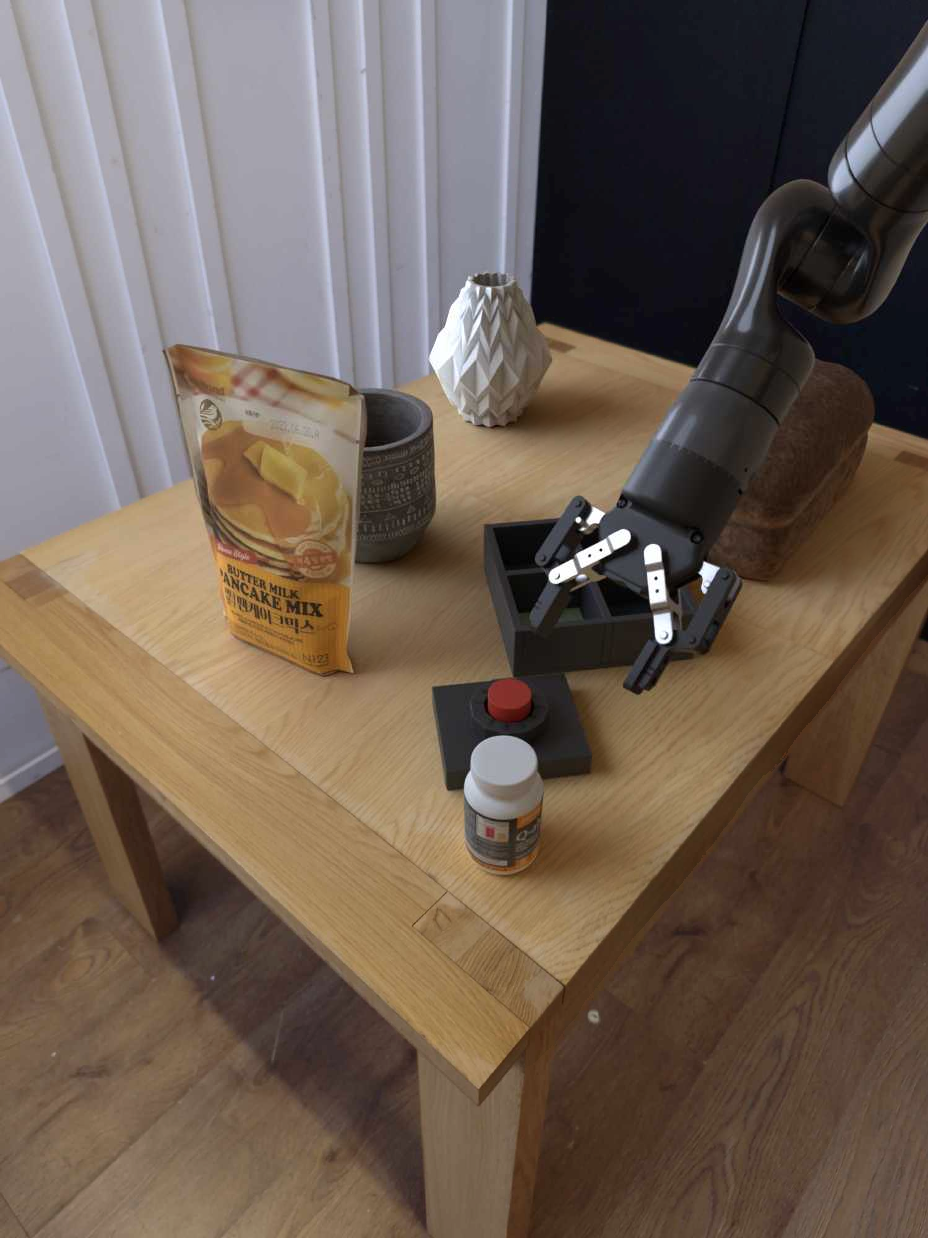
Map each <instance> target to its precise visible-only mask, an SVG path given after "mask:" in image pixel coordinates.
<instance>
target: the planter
mask: <svg viewBox="0 0 928 1238" xmlns="http://www.w3.org/2000/svg"><path fill="white" fill-rule="evenodd" d="M354 389H355V390H356V391H357V392H359V393H360V394H362V395H363V396H364V398H365V404H366V411H367V434H366V439H365V445H364V451H363V462H362V476H361V496H360V518H359V523H358V527H357V544H356V554H355V563H361V564H380V563H385V562H389V561H394V560H396V559H398V558H401V557H403V556H405V555H406V554H408V553H409V552H410V551H411V550H413V548H414V547H415V545H416V544H417V543H418V542H419V540H420V539H421V537H422V536H423V535H424V534H425V532H426V530H427V529H428V527H429V525H430V524H431V522H432V521H433V518H434V516H435V514H436V509H437V488H436V487H437V485H436V475H435V474H436V458H435V457H436V455H435V438H434V437H435V435H434V415H433V411H432V409H431V407H430V406H429V405H428V404H427V403H426V402H424V401H423V400H422V399H421V398H419V397H417V396H414V395H412V394H409V393H406V392H403V391H399V390H394V389H387V388H375V387H367V388H365V387H364V388H354Z"/></svg>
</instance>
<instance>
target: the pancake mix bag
mask: <svg viewBox="0 0 928 1238" xmlns="http://www.w3.org/2000/svg"><path fill="white" fill-rule="evenodd" d="M161 352H162V354H163V356H164V358H165V361H166V365H167V368H168V371H169V375H170V379H171V383H172V387H173V392H174V397H175V403H176V406H177V410H178V413H179V417H180V421H181V426H182V430H183V431H182V432H183V436H184V442H185V448H186V452H187V456H188V459H189V463H190V467H191V475H192V481H193V485H194V490H195V496H196V499H197V502H198V504H199V505H198V506H199V508H200V511H201V514H202V519H203V522H204V525H205V529H206V532H207V536H208V539H209V544H210V548H211V552H212V555H213V558H214V561H215V562H214V563H215V567H216V571H217V578H218V587H219V588H218V589H219V592H220V598H221V603H222V616H223V617H224V618H226V619H227V625H228V629H229V632H230V633H231V634H232V635H233V636H234V637H235V638H237V639H239V640H240V641H242V642H244V643H247V644H248V645H251V646H253V647H254V648H257V649H259V650H261V651H263V652H265V653H268V654H270V655H273V656H275V657H277V658H279V659H282V660H284V661H286V662H288V663H290V664H292V665H294V666H296V667H298V668H299V669H303V670H305V671H307V672H309V673H312V674H315V675H318V676H321V677H326V676H327V675H330V674H333V673H336V672H338V671H339V672H345V673H350V674H354V673H355V672H354V670H353V665H352V662H351V658H350V654H349V652H348V650H347V647H348V641H349V640H348V639H349V633H350V626H351V625H350V623H351V618H352V603H353V601H352V600H353V584H354V576H355V575H354V574H355V563H356V562H355V554H356V544H357V527H358V523H359V518H360V496H361V476H362V462H363V451H364V445H365V439H366V434H367V411H366V404H365V398H364V396H363V395H362V394H360V393H359V392H357V391H356V390H355V389H356V388H354V387H353V386H352V385H351V384H350V383H349V382H347V381H345V380H342V379H340V378H337V377H334V376H330V375H325V374H321V373H317V372H313V371H307V370H304V369H298V368H292V367H287V366H284V365H280V364H278V363H274V362H270V361H266V360H263V359H260V358H256V357H252V356H247V355H240V354H238V353H237V354H236V353H232V352H227V351H220V350H216V349H212V348H207V347H201V346H194V345H188V344H183V343H182V344H181V343H176V344H173V345H171V346H169V347H167V348H165V349H162V350H161Z"/></svg>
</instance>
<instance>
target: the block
mask: <svg viewBox="0 0 928 1238" xmlns="http://www.w3.org/2000/svg"><path fill="white" fill-rule="evenodd" d="M503 679H515V680H519V681H521V682H523V683H525V684H526V685H527V686H528V687H529V688H530V690H531V710H530V714H529V715H528V717H527V718H526V719H524V720H523V721H521V722H515V723H504V722H500V721H497V720H495V719H494V718H493V717H492V716H491V715H490V714H489V712H488V690H489V688H490V687H491V686H492V684H494V683H495V682H497V681H499V680H503ZM431 698H432V700H431V701H432V708H433V714H434V715H433V716H434V721H435V722H434V723H435V726H436V728H435V729H436V732H437V739H438V746H439V753H440V759H441V765H442V769H443V770H442V771H443V776H444V782H445V788H446V790H447V791H451V790H458V789H464V784H465V780H466V777H467V775H468V773H469V772H470V770H471V756H472V753H473V751H474V749H475V748H476V747H477V746H478V745H479V744H480V743H481V742H483V741H484V740H486V739H488V738H491V737H495V736H512V737H516V738H519V739H521V740H523V741H525V742H526V743H528V744H529V745H530V746H531V747H532V748H533V750H534V751H535V753H536V756H537V760H538V768H537V771H538V773H539V775H540V777H541V779H542V780H546V779H555V778H561V777H570V776H571V777H572V776H579V775H588V774H591V767H592V761H593V753H592V752H591V748H590V746H589V742H588V739H587V736H586V733H585V730H584V727H583V724H582V721H581V718H580V716H579V712H578V710H577V707H576V704H575V701H574V697H573V695H572V692H571V688H570V686H569V683H568V680H567V677H566V674H565V672H558V673H549V674H539V675H530V676H520V677H513V676H511V677H503V678H494V679H490V680H482V681H473V682H465V683H454V684H445V685H436V686H432V687H431Z"/></svg>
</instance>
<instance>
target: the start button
mask: <svg viewBox="0 0 928 1238" xmlns="http://www.w3.org/2000/svg"><path fill="white" fill-rule="evenodd" d="M530 710H531V690H530V688H529V687H528V686H527V685H526V684H525V683H523V682H521V681H519V680H515V679H503V680H499V681H497V682H495V683H494V684H492V686H491V687H490V688H489V690H488V712H489V714H490V715H491V716H492V717H493V718H494V719H495V720H497V721H500V722H504V723H515V722H521V721H523V720H524V719H526V718H527V717H528V715H529V714H530Z"/></svg>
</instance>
